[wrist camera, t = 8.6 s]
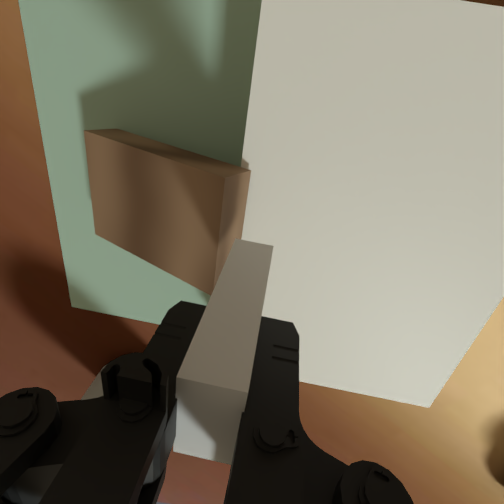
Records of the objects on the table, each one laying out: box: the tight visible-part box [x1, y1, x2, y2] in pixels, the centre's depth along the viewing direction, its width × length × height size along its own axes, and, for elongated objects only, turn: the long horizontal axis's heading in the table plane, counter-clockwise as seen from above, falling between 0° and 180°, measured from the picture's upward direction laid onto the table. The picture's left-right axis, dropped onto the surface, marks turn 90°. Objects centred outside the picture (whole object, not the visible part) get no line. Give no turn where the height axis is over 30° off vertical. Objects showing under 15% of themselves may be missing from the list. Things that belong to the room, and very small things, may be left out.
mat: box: [18, 0, 262, 324], centre depth 19 cm, size 12×22×1 cm, turn 172°
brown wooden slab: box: [84, 128, 251, 296], centre depth 17 cm, size 9×6×2 cm, turn 82°
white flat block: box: [241, 0, 504, 408], centre depth 17 cm, size 14×20×4 cm
